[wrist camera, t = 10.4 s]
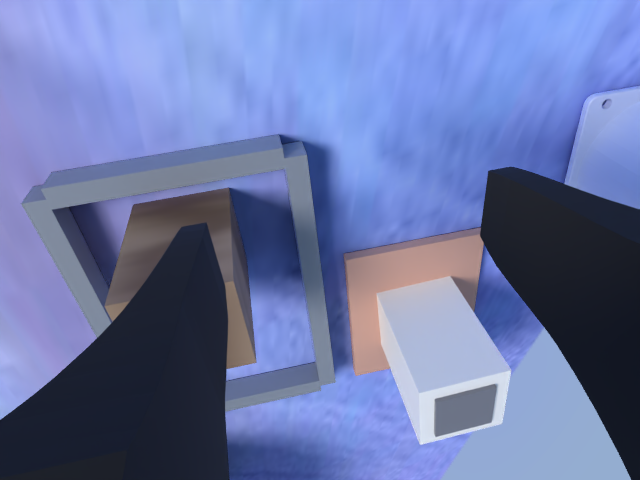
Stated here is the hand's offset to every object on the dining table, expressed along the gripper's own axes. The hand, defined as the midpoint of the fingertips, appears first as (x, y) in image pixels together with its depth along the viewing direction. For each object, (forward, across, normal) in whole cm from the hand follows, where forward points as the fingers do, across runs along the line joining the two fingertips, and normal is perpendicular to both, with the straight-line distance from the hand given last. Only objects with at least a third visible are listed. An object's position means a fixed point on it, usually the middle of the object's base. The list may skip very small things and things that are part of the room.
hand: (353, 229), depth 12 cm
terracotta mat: (+10, -6, +14) cm, 18 cm away
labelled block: (+10, -6, +14) cm, 18 cm away
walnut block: (+10, +6, +6) cm, 14 cm away
